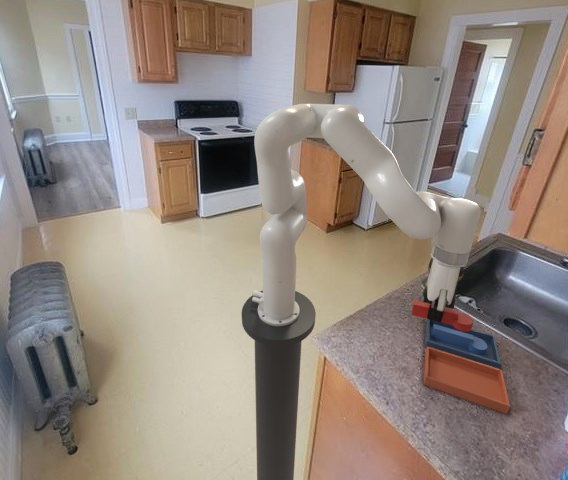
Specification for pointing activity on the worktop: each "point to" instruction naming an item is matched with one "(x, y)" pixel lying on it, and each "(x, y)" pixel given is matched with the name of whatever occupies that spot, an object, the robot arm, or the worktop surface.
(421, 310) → the red bar with disc
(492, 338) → the tray blue
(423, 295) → the coffee jar
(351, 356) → the worktop surface
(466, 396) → the tray orange
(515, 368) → the worktop surface
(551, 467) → the worktop surface
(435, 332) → the blue bar with disc
